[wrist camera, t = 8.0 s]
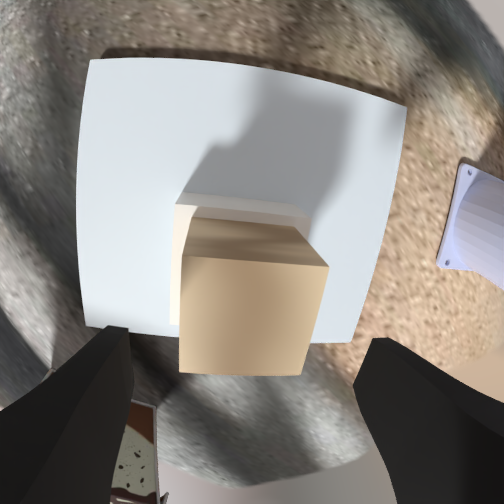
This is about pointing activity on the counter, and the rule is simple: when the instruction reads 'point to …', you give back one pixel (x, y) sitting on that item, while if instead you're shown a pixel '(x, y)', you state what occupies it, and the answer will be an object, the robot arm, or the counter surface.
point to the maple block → (247, 298)
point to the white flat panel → (226, 176)
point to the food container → (136, 458)
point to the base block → (224, 210)
